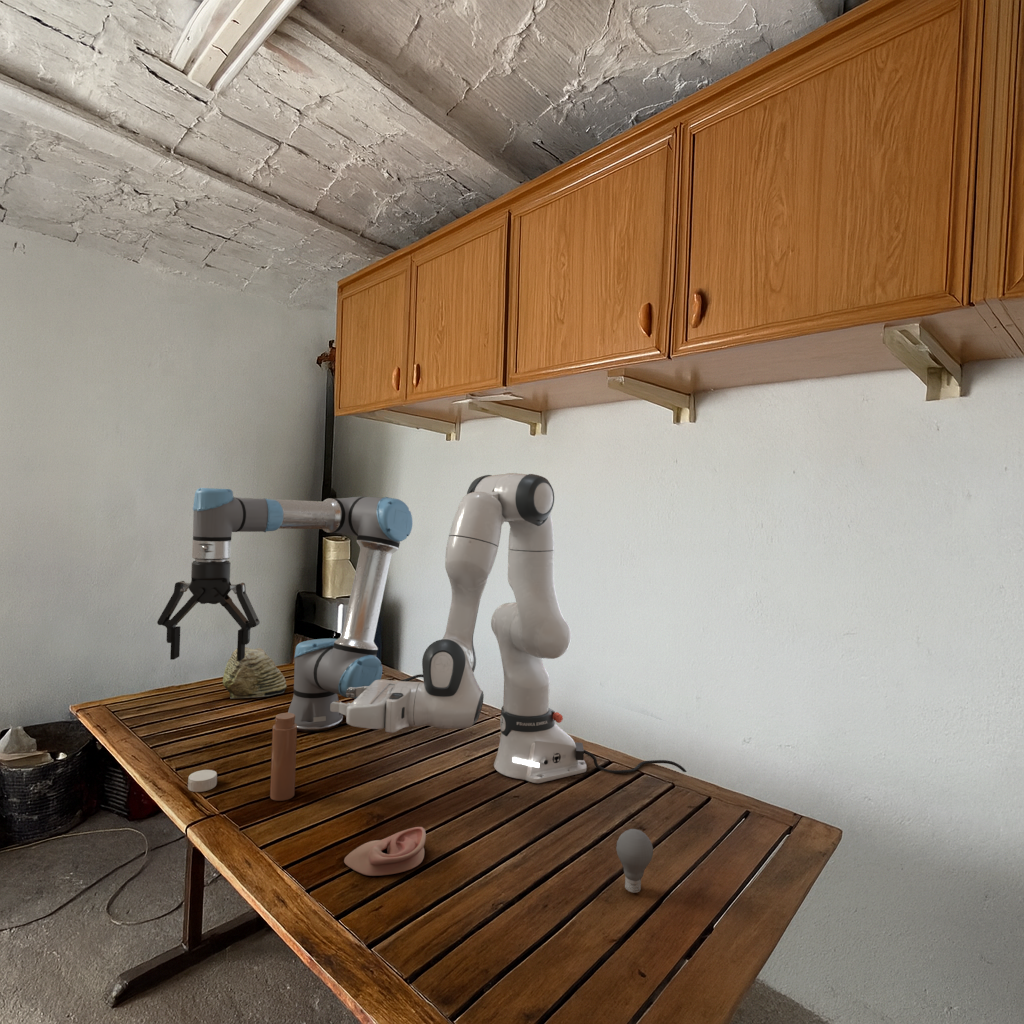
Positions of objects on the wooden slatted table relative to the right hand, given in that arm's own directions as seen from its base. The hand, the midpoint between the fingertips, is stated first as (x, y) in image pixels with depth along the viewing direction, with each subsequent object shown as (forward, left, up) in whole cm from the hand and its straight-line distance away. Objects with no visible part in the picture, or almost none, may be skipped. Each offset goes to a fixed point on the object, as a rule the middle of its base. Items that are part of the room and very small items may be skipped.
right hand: (339, 698), depth 132 cm
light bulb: (-44, +46, -21) cm, 67 cm away
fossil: (+18, -77, -21) cm, 81 cm away
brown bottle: (+10, -5, -21) cm, 24 cm away
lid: (+27, -14, -19) cm, 36 cm away
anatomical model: (-6, +25, -21) cm, 33 cm away
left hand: (+26, -14, +6) cm, 30 cm away
